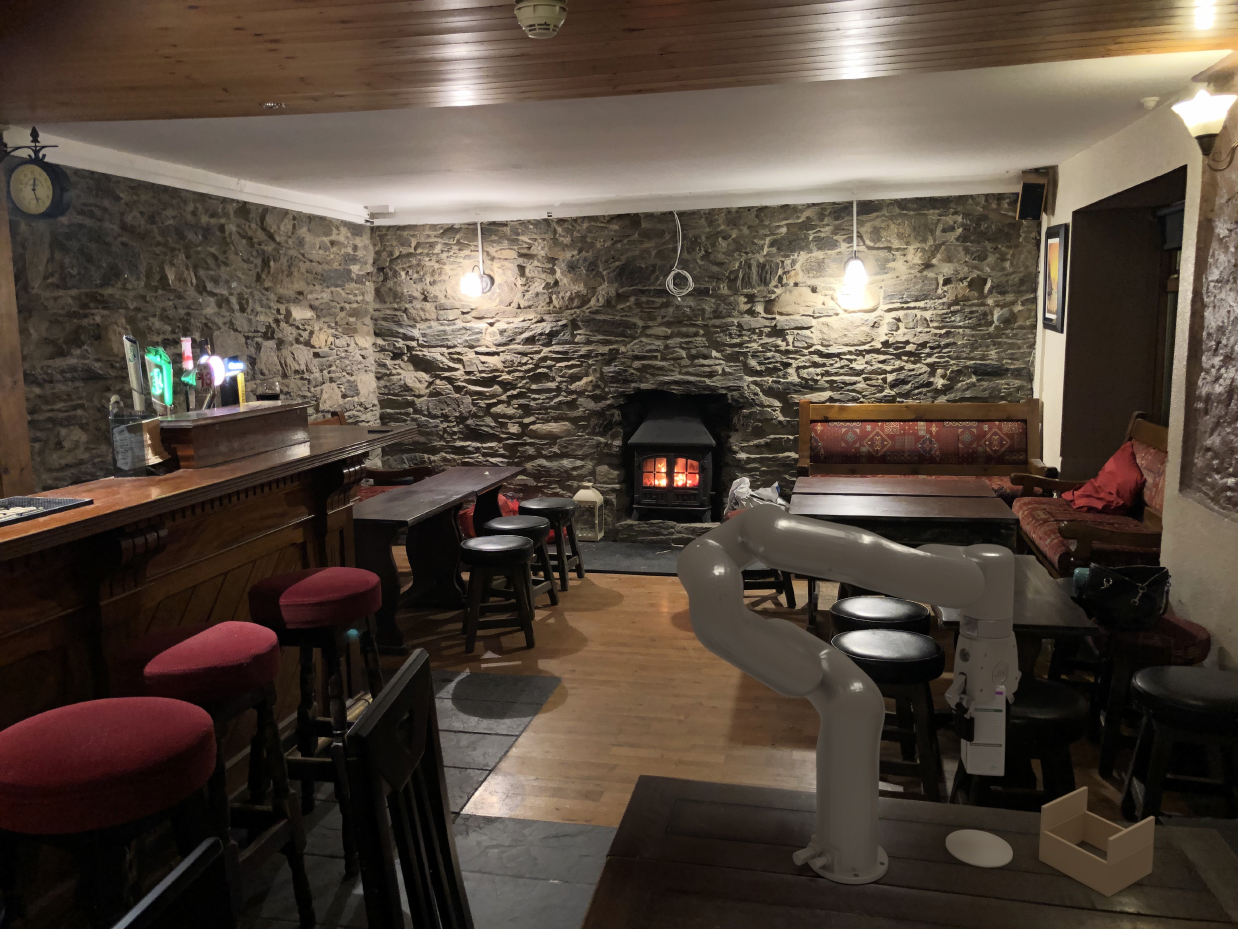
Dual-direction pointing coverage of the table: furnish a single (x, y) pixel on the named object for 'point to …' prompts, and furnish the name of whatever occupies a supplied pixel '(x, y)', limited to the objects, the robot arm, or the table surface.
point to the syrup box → (986, 737)
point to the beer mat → (979, 848)
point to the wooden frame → (1094, 844)
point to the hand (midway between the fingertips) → (982, 731)
